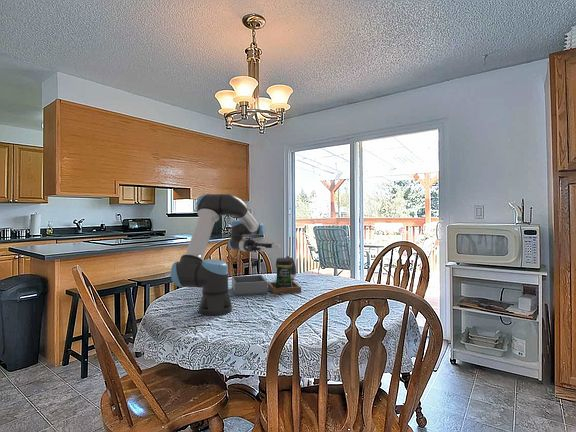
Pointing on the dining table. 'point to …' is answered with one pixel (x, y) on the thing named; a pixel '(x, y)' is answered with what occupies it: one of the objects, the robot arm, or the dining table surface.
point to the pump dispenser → (293, 269)
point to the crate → (249, 285)
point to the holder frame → (294, 289)
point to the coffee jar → (283, 272)
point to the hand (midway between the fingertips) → (272, 248)
